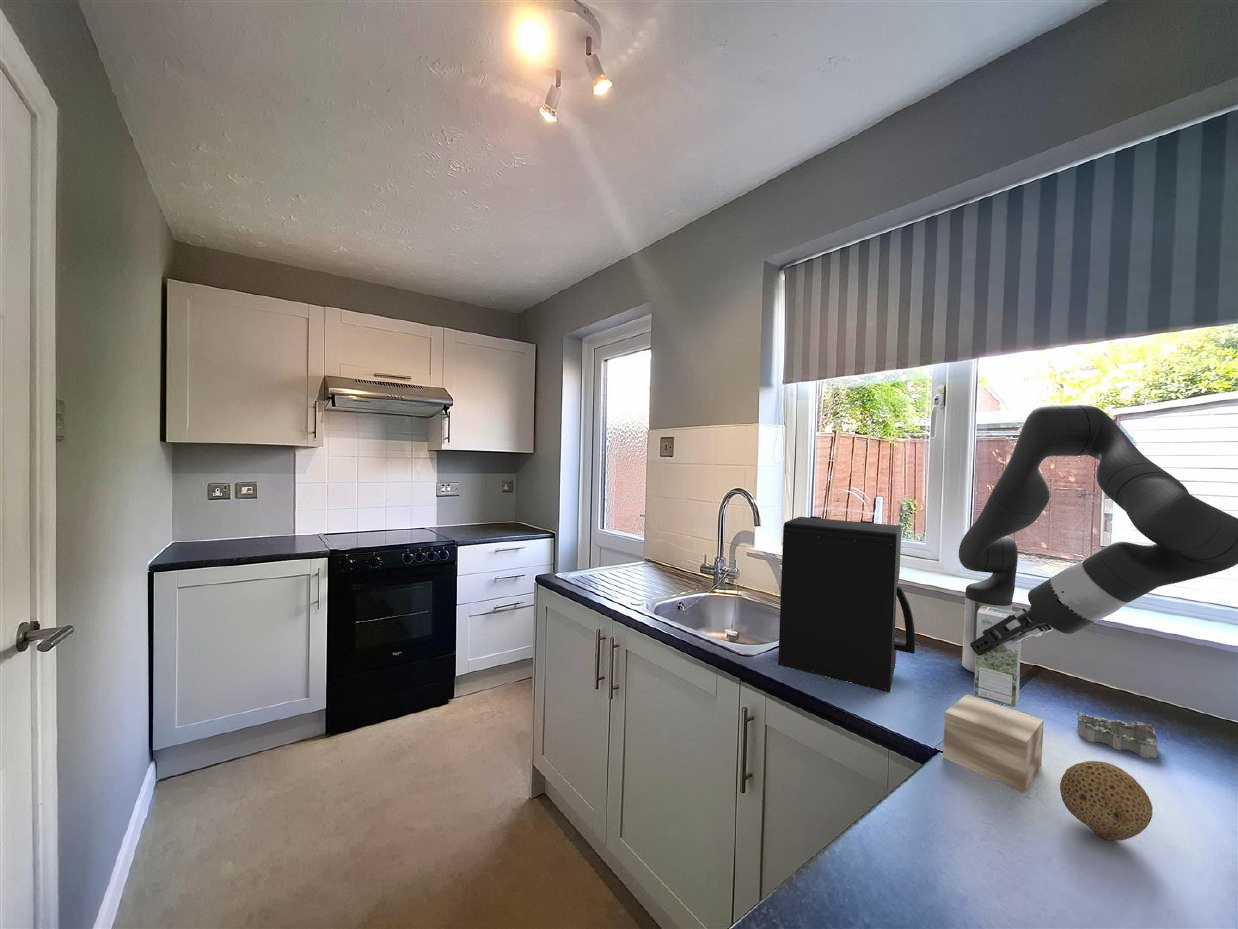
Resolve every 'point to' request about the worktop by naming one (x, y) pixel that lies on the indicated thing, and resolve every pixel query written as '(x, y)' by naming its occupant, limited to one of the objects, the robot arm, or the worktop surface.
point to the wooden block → (994, 741)
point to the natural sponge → (1106, 799)
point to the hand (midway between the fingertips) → (987, 646)
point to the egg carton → (1119, 734)
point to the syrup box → (997, 662)
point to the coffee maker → (842, 600)
